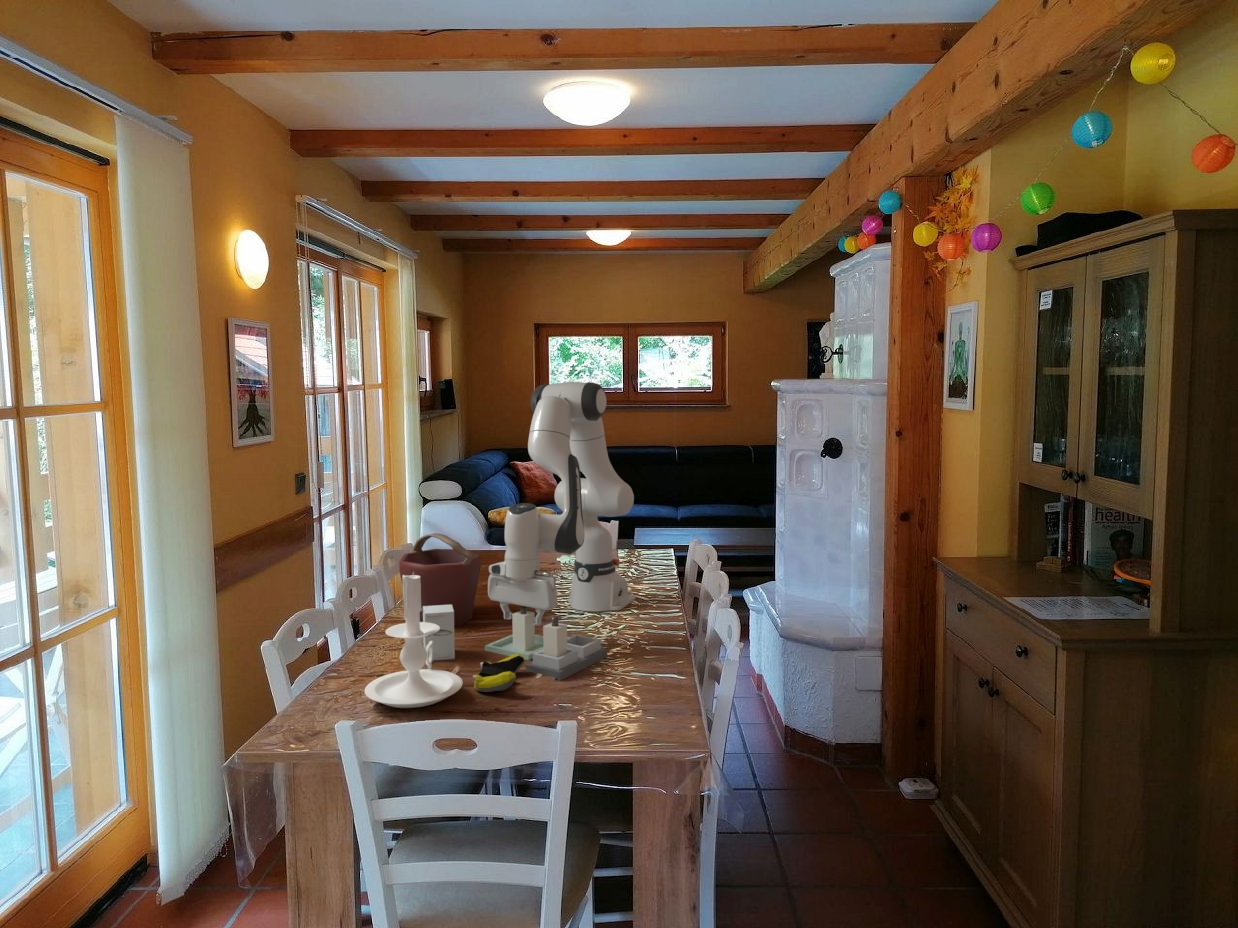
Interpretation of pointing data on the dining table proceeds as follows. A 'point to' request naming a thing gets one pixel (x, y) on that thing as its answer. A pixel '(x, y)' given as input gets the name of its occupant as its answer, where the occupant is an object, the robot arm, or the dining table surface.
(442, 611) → the supplement box
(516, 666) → the yellow black curved piece
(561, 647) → the grey socket base
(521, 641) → the plug
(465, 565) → the bucket
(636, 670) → the dining table surface
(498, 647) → the tray
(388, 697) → the candlestick
